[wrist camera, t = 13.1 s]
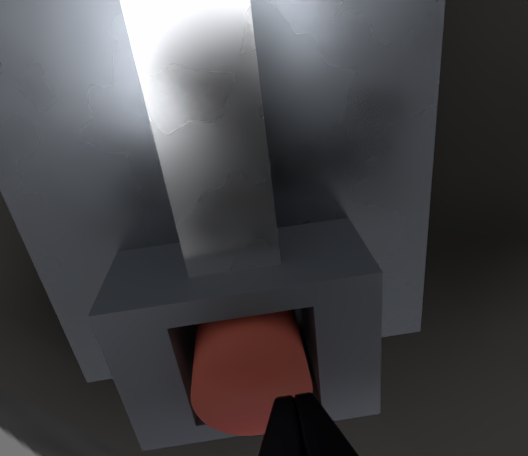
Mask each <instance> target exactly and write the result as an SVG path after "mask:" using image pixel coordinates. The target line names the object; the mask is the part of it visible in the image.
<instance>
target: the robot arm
mask: <svg viewBox="0 0 528 456" xmlns="http://www.w3.org/2000/svg"><path fill="white" fill-rule="evenodd" d="M258 456H358V454H357V453H356V451H355V450H354V449H353V447H352V446H351V445H350V443H349V442H348V440H347V439H346V438H345V436H344V435H343V434H342V432H341V431H340V429H339V428H338V427H337V425H336V424H335V423H334V421H333V420H332V418H331V417H330V416H329V414H328V413H327V412H326V410H325V409H324V407H323V406H322V405H321V403H320V402H319V401H318V399H317V398H316V396H315V395H314V394H313V393H311V392H307V393H300V394H296V395H295V396H294V397H293V396H292V395H287V396H280V397H276V398H275V400H274V402H273V405H272V409H271V413H270V416H269V420H268V423H267V427H266V430H265V434H264V437H263V441H262V444H261V448H260V451H259V455H258Z"/></svg>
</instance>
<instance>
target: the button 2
mask: <svg viewBox="0 0 528 456" xmlns="http://www.w3.org/2000/svg"><path fill="white" fill-rule="evenodd" d="M307 392H311V393H312V392H313V386H312V380H311V376H310V372H309V368H308V364H307V360H306V355H305V351H304V347H303V343H302V339H301V335H300V331H299V326H298V322H297V318H296V314H295V310H294V309H293V310H287V311H280V312H274V313H267V314H260V315H254V316H247V317H240V318H234V319H227V320H221V321H214V322H207V323H201V324H197V329H196V340H195V351H194V362H193V373H192V384H191V404H192V407H193V409H194V411H195V413H196V414H197V416H198V417H199V418H200V419H201V420H202V421H203V422H204V423H205V424H207V425H208V426H210V427H212V428H214V429H216V430H218V431H221V432H223V433H227V434H232V435H239V436H254V435H261V434H265V430H266V427H267V423H268V420H269V416H270V413H271V409H272V405H273V402H274V400H275V398H276V397H280V396H287V395H292V396H293V397H294V396H295V395H296V394H300V393H307Z"/></svg>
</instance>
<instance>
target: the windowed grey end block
mask: <svg viewBox="0 0 528 456" xmlns="http://www.w3.org/2000/svg"><path fill="white" fill-rule="evenodd" d="M277 231H278V239H279V248H280V256H281V264H279V265H272V266H265V267H259V268H252V269H245V270H238V271H232V272H225V273H218V274H212V275H205V276H198V277H191V278H189V277H188V273H187V269H186V265H185V261H184V257H183V253H182V249H181V245H180V242H179V243H172V244H165V245H159V246H152V247H145V248H138V249H131V250H125V251H118V252H117V253H116V256H115V258H114V260H113V262H112V264H111V266H110V269H109V271H108V273H107V275H106V277H105V280H104V282H103V284H102V286H101V288H100V290H99V293H98V295H97V297H96V299H95V301H94V303H93V306H92V308H91V310H90V312H89V314H88V316H87V317H88V319H89V322H90V324H91V327H92V329H93V332H94V334H95V336H96V339H97V341H98V344H99V346H100V349H101V351H102V354H103V356H104V358H105V361H106V363H107V366H108V368H109V371H110V373H111V376H112V378H113V380H114V383H115V385H116V388H117V390H118V393H119V395H120V397H121V400H122V402H123V405H124V407H125V410H126V412H127V415H128V417H129V419H130V422H131V424H132V427H133V429H134V432H135V434H136V437H137V439H138V441H139V444H140V446H141V449H142V451H146V450H153V449H159V448H166V447H172V446H178V445H185V444H191V443H197V442H204V441H210V440H216V439H223V438H229V437H235V436H239V435H232V434H227V433H223V432H221V431H218V430H216V429H214V428H212V427H210V426H208V425H207V424H205V423H204V422H203V421H202V420H201V419H200V418H199V417H198V416H197V414H196V413H195V411H194V409H193V407H192V404H191V384H192V373H193V362H194V351H195V340H196V327H195V324H201V323H207V322H214V321H221V320H227V319H234V318H240V317H247V316H254V315H260V314H267V313H274V312H280V311H287V310H293V309H300V308H301V313H302V323H303V333H304V334H302V335H301V339H302V343H303V347H304V351H305V355H306V360H307V364H308V368H309V372H310V376H311V380H312V386H313V392H312V393H313V394H314V395H315V396H316V398H317V399H318V401H319V402H320V403H321V405H322V406H323V407H324V409H325V410H326V412H327V413H328V414H329V416H330V417H331V418H332V420H333V421H337V420H343V419H350V418H356V417H363V416H369V415H375V414H380V397H381V341H382V286H383V272H382V270H381V269H380V267H379V266H378V264H377V262H376V261H375V259H374V257H373V256H372V254H371V253H370V251H369V249H368V248H367V246H366V245H365V243H364V241H363V240H362V238H361V237H360V235H359V233H358V232H357V230H356V229H355V227H354V225H353V224H352V222H351V221H350V219H349V218H342V219H336V220H329V221H322V222H315V223H308V224H302V225H295V226H288V227H281V228H277Z"/></svg>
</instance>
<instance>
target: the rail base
mask: <svg viewBox="0 0 528 456" xmlns="http://www.w3.org/2000/svg"><path fill="white" fill-rule="evenodd" d="M444 12H445V0H0V191H1V193H2V196H3V198H4V200H5V202H6V204H7V207H8V209H9V211H10V213H11V215H12V218H13V220H14V222H15V224H16V226H17V229H18V231H19V233H20V235H21V238H22V240H23V242H24V244H25V246H26V249H27V251H28V253H29V255H30V257H31V260H32V262H33V264H34V266H35V268H36V271H37V273H38V275H39V277H40V279H41V282H42V284H43V286H44V288H45V290H46V293H47V295H48V297H49V299H50V302H51V304H52V306H53V308H54V310H55V313H56V315H57V317H58V319H59V321H60V324H61V326H62V328H63V330H64V332H65V335H66V337H67V339H68V341H69V343H70V346H71V348H72V350H73V352H74V354H75V357H76V359H77V361H78V363H79V366H80V368H81V370H82V372H83V374H84V377H85V379H86V381H87V382H94V381H100V380H107V379H113V378H112V376H111V373H110V371H109V368H108V366H107V363H106V361H105V358H104V356H103V354H102V351H101V349H100V346H99V344H98V341H97V339H96V336H95V334H94V332H93V329H92V327H91V324H90V322H89V319H88V317H87V316H88V314H89V312H90V310H91V308H92V306H93V303H94V301H95V299H96V297H97V295H98V293H99V290H100V288H101V286H102V284H103V282H104V280H105V277H106V275H107V273H108V271H109V269H110V266H111V264H112V262H113V260H114V258H115V256H116V253H117V252H118V251H125V250H131V249H138V248H145V247H152V246H159V245H165V244H172V243H179V242H180V245H181V249H182V253H183V257H184V261H185V265H186V269H187V273H188V277H189V278H191V277H198V276H205V275H212V274H218V273H225V272H232V271H238V270H245V269H252V268H259V267H265V266H272V265H279V264H281V256H280V248H279V239H278V231H277V228H281V227H288V226H295V225H302V224H308V223H315V222H322V221H329V220H336V219H342V218H349V219H350V221H351V222H352V224H353V225H354V227H355V229H356V230H357V232H358V233H359V235H360V237H361V238H362V240H363V241H364V243H365V245H366V246H367V248H368V249H369V251H370V253H371V254H372V256H373V257H374V259H375V261H376V262H377V264H378V266H379V267H380V269H381V270H382V272H383V286H382V337H387V336H394V335H400V334H407V333H413V332H420V330H421V317H422V303H423V290H424V277H425V264H426V250H427V237H428V224H429V210H430V197H431V184H432V171H433V157H434V144H435V131H436V118H437V104H438V91H439V78H440V65H441V51H442V38H443V25H444ZM294 310H295V314H296V318H297V322H298V326H299V331H300V335H302V334H304V333H303V323H302V313H301V308H300V309H294ZM195 327H196V329H197V324H195Z"/></svg>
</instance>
